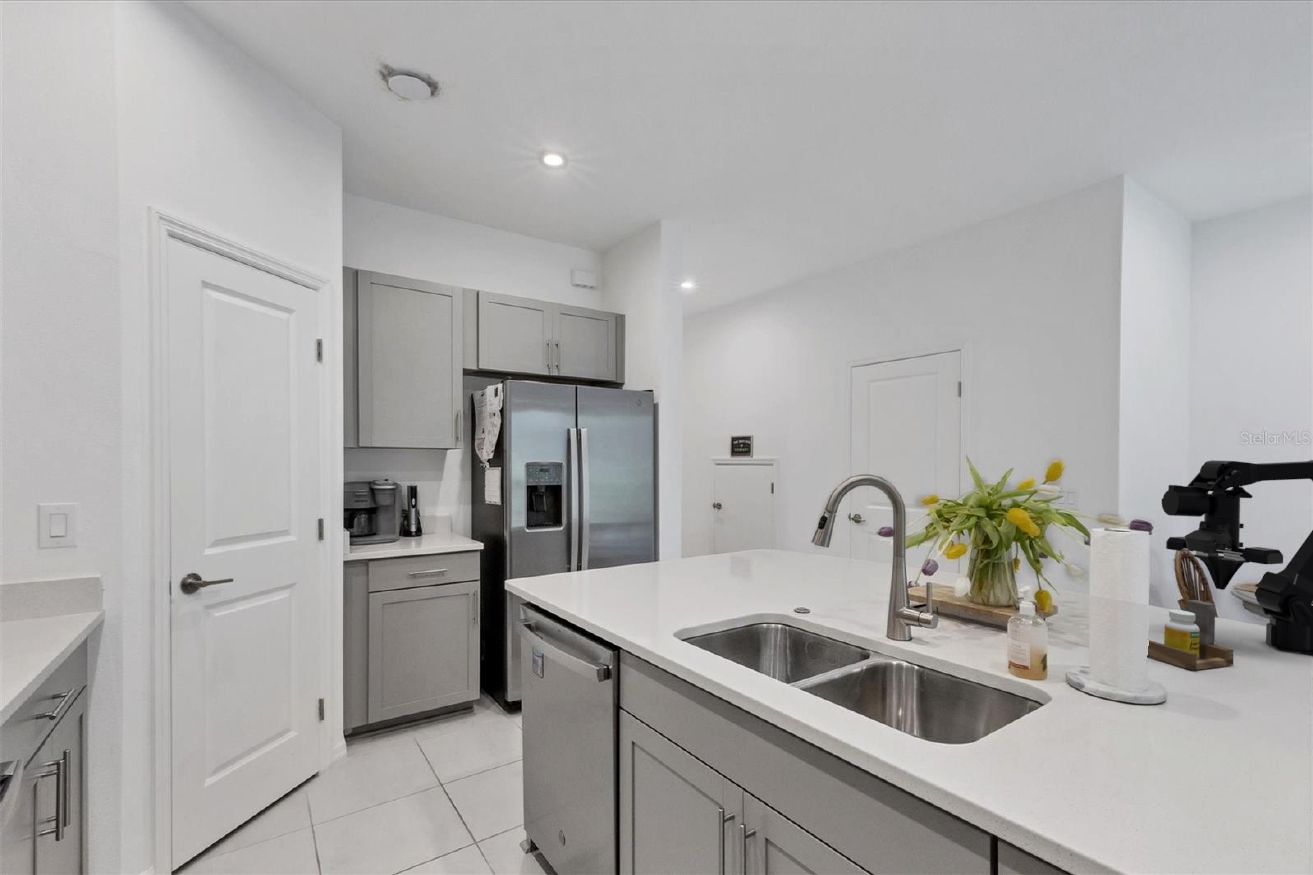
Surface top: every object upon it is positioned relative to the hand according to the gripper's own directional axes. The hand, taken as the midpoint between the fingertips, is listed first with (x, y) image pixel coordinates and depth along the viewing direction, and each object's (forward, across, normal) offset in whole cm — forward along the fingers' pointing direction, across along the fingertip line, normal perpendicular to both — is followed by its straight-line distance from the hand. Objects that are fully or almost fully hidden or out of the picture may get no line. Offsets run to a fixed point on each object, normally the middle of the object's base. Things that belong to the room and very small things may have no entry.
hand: (1220, 589), depth 134 cm
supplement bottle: (+12, +5, -20) cm, 24 cm away
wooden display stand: (+12, +5, -20) cm, 23 cm away
